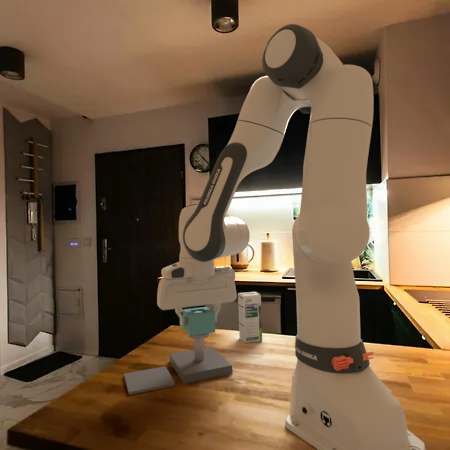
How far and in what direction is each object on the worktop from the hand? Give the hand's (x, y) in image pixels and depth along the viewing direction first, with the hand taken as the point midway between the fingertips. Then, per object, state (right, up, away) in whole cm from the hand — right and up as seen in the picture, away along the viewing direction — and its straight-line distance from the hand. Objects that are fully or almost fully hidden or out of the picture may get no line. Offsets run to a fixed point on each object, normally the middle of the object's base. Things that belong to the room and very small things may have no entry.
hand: (198, 323), depth 83 cm
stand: (0, -11, 0) cm, 11 cm away
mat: (-11, -11, -7) cm, 17 cm away
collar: (0, -2, 0) cm, 2 cm away
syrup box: (+15, -11, +20) cm, 27 cm away
